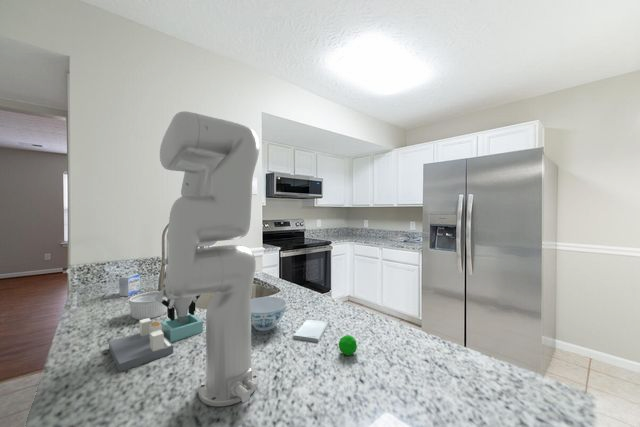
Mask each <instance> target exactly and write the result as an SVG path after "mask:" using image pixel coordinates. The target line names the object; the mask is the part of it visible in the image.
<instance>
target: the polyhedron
mask: <svg viewBox="0 0 640 427" xmlns="http://www.w3.org/2000/svg"><path fill="white" fill-rule="evenodd" d="M338 349H339V351H340V352H341V353H342V354H343V355H346V356H351V355H353V354H354V353H356V351H357V349H358V346H357V340H356V338H354V337H353V336H351V335H349V334H346V335H344V336H342V337H341V338H340V339H339V341H338Z"/></svg>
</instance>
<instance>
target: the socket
mask: <svg viewBox="0 0 640 427" xmlns="http://www.w3.org/2000/svg"><path fill="white" fill-rule="evenodd" d="M203 322H204V320H201V319H200V318H199V317H198V316H197V315H195V314H194V315H191V314H190V313H187V317H186V321H185V322H184V323H182V324H180V323H178V321H177V316H176V317H175V320H173V321H172V320H170V319H169V318H168V319H167V320H166V319H165V320H162V321H160V324H161V325H162V332H163V333H164V336H165V337H166V338H167V339H168V340H169V341H170V342H171V343H174V342H176V341H180V340H183V339H186V338H189V337H192V336H195V335H198V334H202V333H203V332H204V331H203V330H204V327H203V326H204V323H203Z"/></svg>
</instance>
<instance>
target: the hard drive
mask: <svg viewBox="0 0 640 427" xmlns="http://www.w3.org/2000/svg"><path fill="white" fill-rule="evenodd" d="M328 327H329V322H328V321H323V320H314V319H306V320H305V321H304V322H303V323H302V325H301V326H300V327H299V328H298V330H297V331H296V332H295V333H294V335H292V339H294V340H301V341H306V342H307V341H308V342H315V343H319V342H320V341H321V338H322V337H323V335H324V333H325V332H326V330H327V328H328Z"/></svg>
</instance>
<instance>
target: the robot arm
mask: <svg viewBox="0 0 640 427" xmlns="http://www.w3.org/2000/svg"><path fill="white" fill-rule="evenodd" d="M259 153H260V142H259V137H258V136H257V134H256V132H255V131H254V130H253V129H252V128H250V127H248V126H246V125H244V124H240V123H238V122H234V121H231V120H227V119H226V120H225V119H222V118H218V117H212V116H208V115H204V114H200V113H196V112H191V111H179V112H177V113H176V114H175V115H174V116H173V117H172V120H171V121H170V123H169V125H168V127H167V129H166V130H165V133H164V136H163V137H162V141H161V143H160V147H159V161H160V164H161V166H162V167H163V168H164V169H166V170H167V171H173V172H174V171H175V172H184V173H183V179H182V183H181V184H182V185H181V189H180V195H181V196H180V197H179V198H177V199H176V200H175V201H174V203H173V204H172V206H171V209H170V212H169V217H168V220H169V221H168V227H167V233H166V234H167V235H166V238H167V246H168V247H167V258H165V259H163V261H162V263H163V264H164V265H166V264H167V265H166V266H165V270H164V273H163V274H164V276H163V284H162V289H161V290H160V291H161V292H160V293H159V294H158V295H157V296H156V298H155V300H156V301H158V302H160V303H162V304H163V305H165V306H166V307H167V311H166V314H167V318H168V320H169V319H170V320H172V321H173V320H175V318H176V317H175V316H176V315H175V313H176V310H175V308H174V306H173V304H174V301H175V299H178V298H187V297H193V299H192V302H191V304H190V306H189V308H188V314H191V315H195V312H196V302H198V299H199V298H200V297H201V296H203V295H207V294H210V293H211V294H212V293H214V294H213V295H212V296H211V298H210V300H209V302H208V305H207V308H206V310H205V311H206V313H205V347H206V348H205V352H206V353H205V355H206V356H205V357H206V359H205V364H206V366H205V368H206V369H205V371H206V372H205V377H204V378H203V379H202V381H201V382H200V383H199V385H198V398H199V400H200V401H201V402H202V403H203V404H205V405H207V406H211V407H227V406H232V405H234V404H238V403H240V402H242V403H246V402H248V401H249V400H250V398H251V395H252V394H253V393H254V392H255V391H256V390H257V387H258V385H259V374H258V372H257V370H255V369H254V368H253V367H252V325H251V299H252V297H253V295H252V294H253V293H252V292H253V284H254V280H255V273H256V268H257V267H256V266H257V265H256V264H257V263H256V261H257V260H256V258H255V257H256V256H255V253H253V251H252V250H251V249H250V248H248V247H247V246H244V245H240V244H228V245H227V244H226V245H225V244H224V245H216V246H214V245H215V244H216V243H217V242H223V241H232V240H239V239H242V238H244V237H245V236H247V235H248V233H249V231H250V228H251V221H252V220H251V219H252V218H251V217H252V216H251V215H252V197H253V196H252V194H253V179H254V174H255V170H256V165H257V162H258V159H259V155H260V154H259ZM163 296H165V297H166V298H167V301H166V300H164V299H162V298H163Z"/></svg>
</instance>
